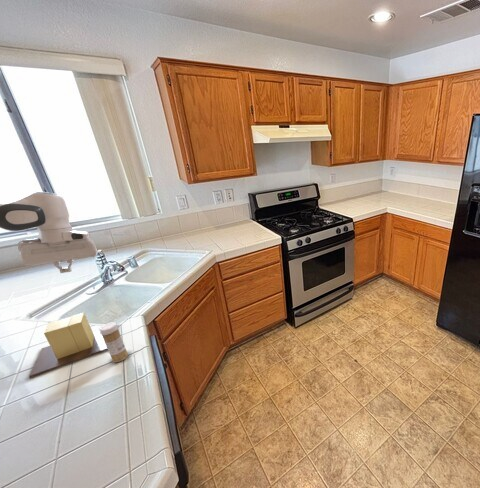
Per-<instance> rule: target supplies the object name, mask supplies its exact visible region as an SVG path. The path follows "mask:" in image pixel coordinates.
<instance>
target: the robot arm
mask: <svg viewBox="0 0 480 488" xmlns="http://www.w3.org/2000/svg"><path fill="white" fill-rule="evenodd" d="M69 218H70V214H69V210H68V207H67V204H66V201H65V199H64V197H63V196H62V195H60V194H58V193H55V192H48V191H33V192H30V193H29V194H28V195H25V196H24V197H21V198H19V199H16V200H13V201H12V200H11V201H9V202H0V229H3V230H5V231H9V232H23V231H27V230H30V229H33V228H35V229H37V232H38V236H39V237H37V238H30V239H22V240H21V241H19V242H17V245H16V246H17V250H18V251H19V252H20V260H21V264H22V265H24V266H26V267H29V266H36V265H44V264H52V263H53V267H55V268H57V269H58V270H59V273H60V274H65V273H71V272H72V266H73V264H74V262H75V261H74V260H81V259H87V258H96V256H98V253H99V252H98V248H97V245H96V243H95V241H94V240H93V239H92V238H90V233H89V232H88V231H84V230H83V231H82V230H74V229H73V226H72V224H71V223H70V219H69ZM61 262H66V263H67V264H68V265H67V266H65V267H63V266H62V265H61Z"/></svg>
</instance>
